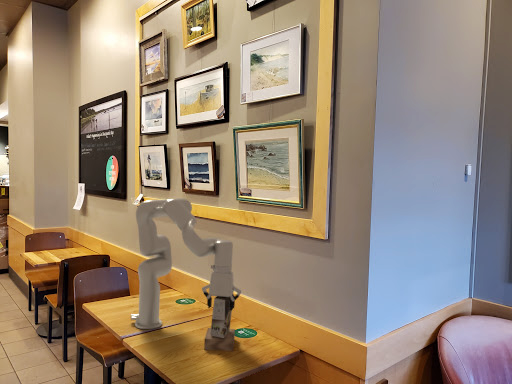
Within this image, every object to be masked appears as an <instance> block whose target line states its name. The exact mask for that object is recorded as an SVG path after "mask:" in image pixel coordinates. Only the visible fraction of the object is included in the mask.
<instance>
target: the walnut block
mask: <svg viewBox="0 0 512 384" xmlns="http://www.w3.org/2000/svg"><path fill="white" fill-rule="evenodd" d="M210 332H211V327H207V329H206V333H205V336H204V345H203V347H204V348H203V350H204V351H220V350H222V351H225V352H233V351H234V344H235V332H236V329H235V328H230V331H229V332H228V333H227V335H226V336H225V337H224V338H220V337H216V336H211V335H210Z"/></svg>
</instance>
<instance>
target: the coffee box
mask: <svg viewBox="0 0 512 384" xmlns="http://www.w3.org/2000/svg"><path fill="white" fill-rule="evenodd" d="M230 304H231V299H230V297H219V296H214V300H213V305H212V306H213V309H212V316H211V325H210V328H211V332H210V335H211V336H216V337H220V338H224V337H225V336H226V335H227V333H228V332H229V331H230V329H231V319H232V311H233V310H232V311H231V310H230Z"/></svg>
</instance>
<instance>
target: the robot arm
mask: <svg viewBox="0 0 512 384" xmlns="http://www.w3.org/2000/svg"><path fill="white" fill-rule="evenodd" d="M192 209H193V205H192V203H191V201H190V200H188V199H187V198H182V197H181V198H178V197H177V198H170V199H148V200H145V201H142V202H141V203H139V205H138V206H137V208H136V212H135V219H136V224H137V230H138V245H139V251H140V254H141V255H142V256H144V257H152V256H155V257H152V258H148V259H145V260H143V261H141V262H140V263H139V265H138V266H137V274H138V280H139V292H138V293H139V294H138V295H139V296H138V313H137V314H135V313H131V314H130V320H133V321H134V320H135V321H134V326H135V328H137V329H141V330H151V329H152V330H154V329H157V328H159V327H161V326H162V325H163V321H162V320H161V319H160V301H161V299H160V298H161V285H160V283H159V281H158V278H160V277H163V276H167V275H168V274H169V273H170V272H171V271H172V268H173V267H172V266H173V260H172V259H173V258H172V247H171V242H170V240H169V238H168V237H167V236H166V235H164V234H158V231H157V230H158V228H157V225H156V222H155V221H154V219H155V218H166V217H169V218H170V220H171V221H172V222H173V223H174V224H175V226H177V228H178V229H179V230H180V231H181V236H182V241H183V243H184V245H186V247H187V248H188V249H189V251H190V252H191V253H192V254H194V255H195V256H197V257H198V258H203V257H208V256H213V255H214V263H213V265H210V269H212V270H213V271H211V275H210V279H209V284H207V285H204V286H202V287H201V290H202V291H201V292H202V293H203V295H204V297H206V299H207V300H206V301H207V303H206V305H207V308H208V309H211V308H212V306H213V305H212V303H213V302H212V299H213V297H216V296H219V297H230V299H231V304H230V310H231V311H233V309H235V305H236V303H235V302H236V300H237V299H239V297H240V296H241V294H242V290H241V289H240V288H238V287H236V286H235V283H234V279H235V278H234V273H233V272H232V268H233V267H232V265H233V252H234V251H233V247H234V246H233V241H231V240H227V239H221V238H217V237H212V236H211V237H206V238H201V237H200V236H199V234H198V233H196V231H195V229H194V227H195V226H196V224H197V218H196V217H195V215H194V214H192V211H193V210H192ZM207 289H208V291H207ZM234 292H236V293H237V294H235V295H234Z"/></svg>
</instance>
